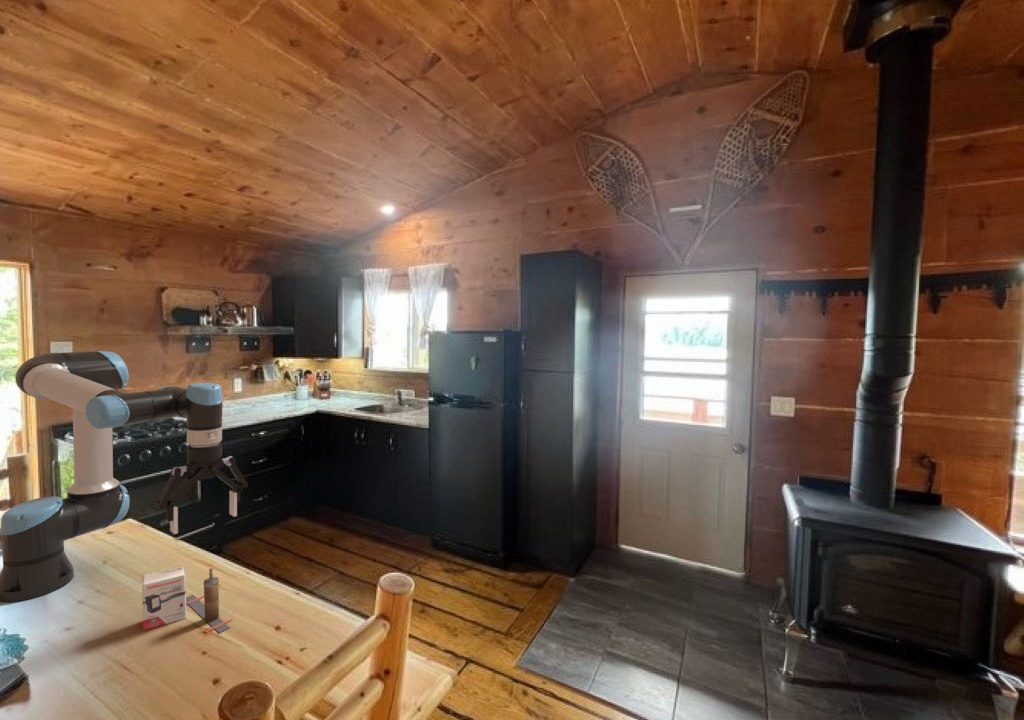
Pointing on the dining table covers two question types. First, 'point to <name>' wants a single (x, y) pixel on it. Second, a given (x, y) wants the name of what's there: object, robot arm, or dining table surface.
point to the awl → (211, 597)
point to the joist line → (199, 608)
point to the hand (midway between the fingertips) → (204, 523)
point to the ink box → (163, 597)
